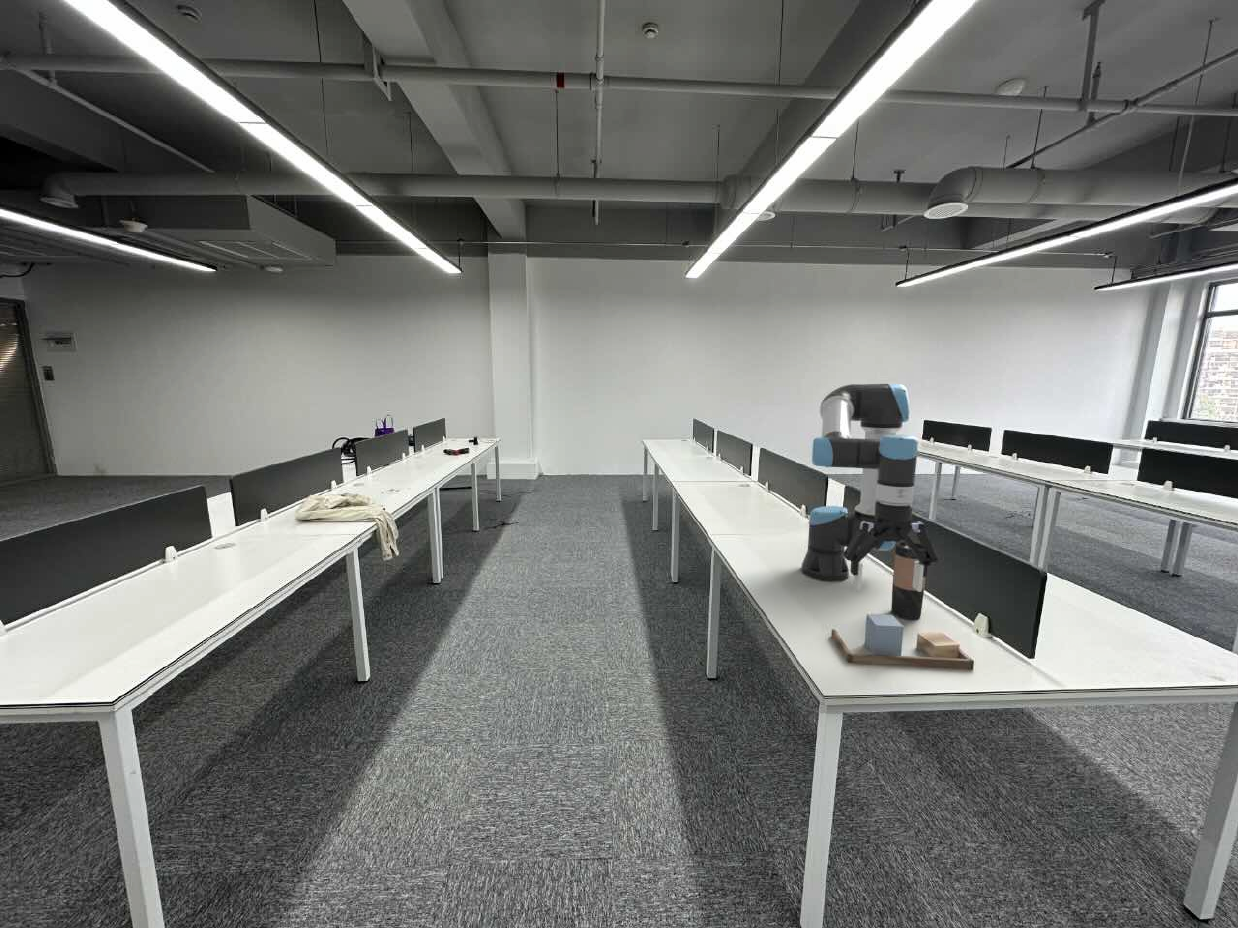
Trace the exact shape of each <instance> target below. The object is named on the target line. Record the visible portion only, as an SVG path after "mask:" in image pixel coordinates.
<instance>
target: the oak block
mask: <svg viewBox="0 0 1238 928" xmlns="http://www.w3.org/2000/svg"><path fill="white" fill-rule="evenodd" d="M915 646H916V649H917V650H918V651H920V652H921V653H922V654H923V655H925V656H926V657H934V658H955V659H958V656H959V648H960V646H961V645H960V643H959V642H957V641H955V640H954V639H953V638H951V637H949V636H948V635H946V634H944V633H943V632H941V631H936V632H935V631H934V632H932V631H931V632H917V636H916V645H915Z"/></svg>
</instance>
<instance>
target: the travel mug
mask: <svg viewBox="0 0 1238 928" xmlns="http://www.w3.org/2000/svg"><path fill="white" fill-rule="evenodd" d="M913 543H914V544H915V545H916V546H917V547H918V549H919V550H920V551H921V552H922V553H923V555H924V556H926V554H925V552H924V550H923V548H922V545H921V543H916V542H913ZM894 553H895V554H894V565H893V573H892V574H893V576H892V585H891V586H892V590H891V611H890V612H891V614H892V615H893V616H894V617H897V618H900V619H904V620H909V621H916V620H919V619H921V615H922V607H923V601H924V593H925V586H926V585H925V584H926V582H925V581H926V577H923V581H922V592H918V591H917V590H916V589H914V588H913V587H912V586H913V575H914V564H915V561H919V560H918V558H917V557H916V556H915V555H914V554H913V552H912V551H911V550H910V549H909V548H908V546H907V545H906V544H905V543H904V542H903V541H900V542H899V543H898V544H896V543H895V552H894Z"/></svg>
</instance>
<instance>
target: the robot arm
mask: <svg viewBox="0 0 1238 928" xmlns="http://www.w3.org/2000/svg"><path fill="white" fill-rule="evenodd" d="M819 407H820V410H819V413H820V417H821V419H822V425H821V426H822V427H821V437H816V438H815V437H814V439H813V442H812V453H811V457H812V458H811V463H812V464H813V465H815V466H817V467H825V468H848V469H849V468H851V469H852V468H853V469H862V475H861V488H860V501H859V503H858V504H857V505H856V506H854V511H853V512H849V511H848V508H846V507H844V506H838V505H827V506H826V505H825V506H819V507H815V508H814V509H812V510H811V511H810V514H809V519H808V525H809V526H808V539H807V540H808V542H807V551H806V553H805V556H804V558H803V559H802V562H801V568H800V569H801V570H800V571H801V573H802V574H803V575H804V576H806V577H809V578H810V579H811V578H812V579H814V580H818V581H823V582H842V581H845V580H847V579H848V578H849V575H850V574H851V575H852V576H853V584H852V585H853V586H854V588H855V589H856V590H857V591H861V590H862V581H863V579H862V578H863V566H864V564H863V563H862V562H861V561H862V560H863V559H864V558H865V557H866V556H868V555H869V553H870V552H871V551H876V552H878V551H879V552H880V551H882V552H883V551H885V552H888V551H891V550H893V548H894V547H895V546H896V543H901V542H904V543H905V544H906V545H907V546H908V548H909V549H910V550H911V551H912V552H913V554H914V555H915V556H916V557H917V558H918V560H919V561H915V564H914V575H913V586H912V587H913V588H914V589H916V590H917V591H918V592H922V581H923V577H925V578H927V576H928V567H929V566H931V565H932V563H938V560H939V559H938V557H937V554H936V552H935V550H934V549H933V546H932V544H931V541H930V540H929V537H928V535H927V529H926V528H927V527H926V524H924V523H923V522H922V521H919V520H917V521H915V522H912V521H911V520H912V516H913V505H912V504H911V503H913V501H914V494H915V493H914V492H915V477H916V469H917V468H916V467H917V458H918V454H919V450H918V443H919V442H918V438H917V437H915V436H913V435H907V434H897V432H899V431H900V430H901V429H902V428H903V423H906V422H908V421H909V419H910V404H909V395H908V390H907V388H906V387H905V385H903V384H900V383H899V384H898V383H890V382H889V383H867V384H865V383H864V384H863V383H862V384H861V383H860V384H859V383H858V384H854V383H853V384H852V383H851V384H845V385H843V386H840V387H838V388H836V389H834V390H832V391H831V392H829V393H828V394H827V395H826V396H825V397H824V399H823V400H822V402H821V404H820V406H819ZM852 422H860V428H861V429H862V430H863V431H864V438H855V437H852ZM911 531H914V532H915V534H916V536H917V538H918V541H919V544H920V545H922V548H923V550H924V552H925V554H926V556H924V555H923V553H922V552H921V551H920V550H919V549H918V547H917V546H916V545H915V544H914V543H915V542H913V540H912V538H911V537H910V536H909V535H908V534H909V533H910V532H911ZM847 561H850V568H849V565H848V562H847ZM849 569H850V570H849Z"/></svg>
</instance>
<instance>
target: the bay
mask: <svg viewBox="0 0 1238 928" xmlns="http://www.w3.org/2000/svg"><path fill="white" fill-rule="evenodd" d="M830 638H832V640H833V641H834V643H835V645H836V646H837V648H838V650H839V651H840V653H841V654H842V655H843V656H844V658H845V660H846V661H847V663H848V664H859V665H878V666H879V665H880V666H898V667H916V668H918V667H921V668H922V667H923V668H935V669H937V668H940V669H953V670H954V669H956V670H974V668H975V667H974V665H975V661H974V660H973V658H971V657H970V656H969V655H968V654H966V653H965V652H964V651H963V650H962V649H961V648H960V647H959V656H958V659H955V658H934V657H928V656H910V655H901V656H893V655H873V654H872V653H871V654H869V653H852V652H851V650H850V649H849V647H848V646H847V645H846V643H845V642H844V640H843V639H842V638H841V636H840V635H839V634H838V631H837V630H836V629H831V634H830Z"/></svg>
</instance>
